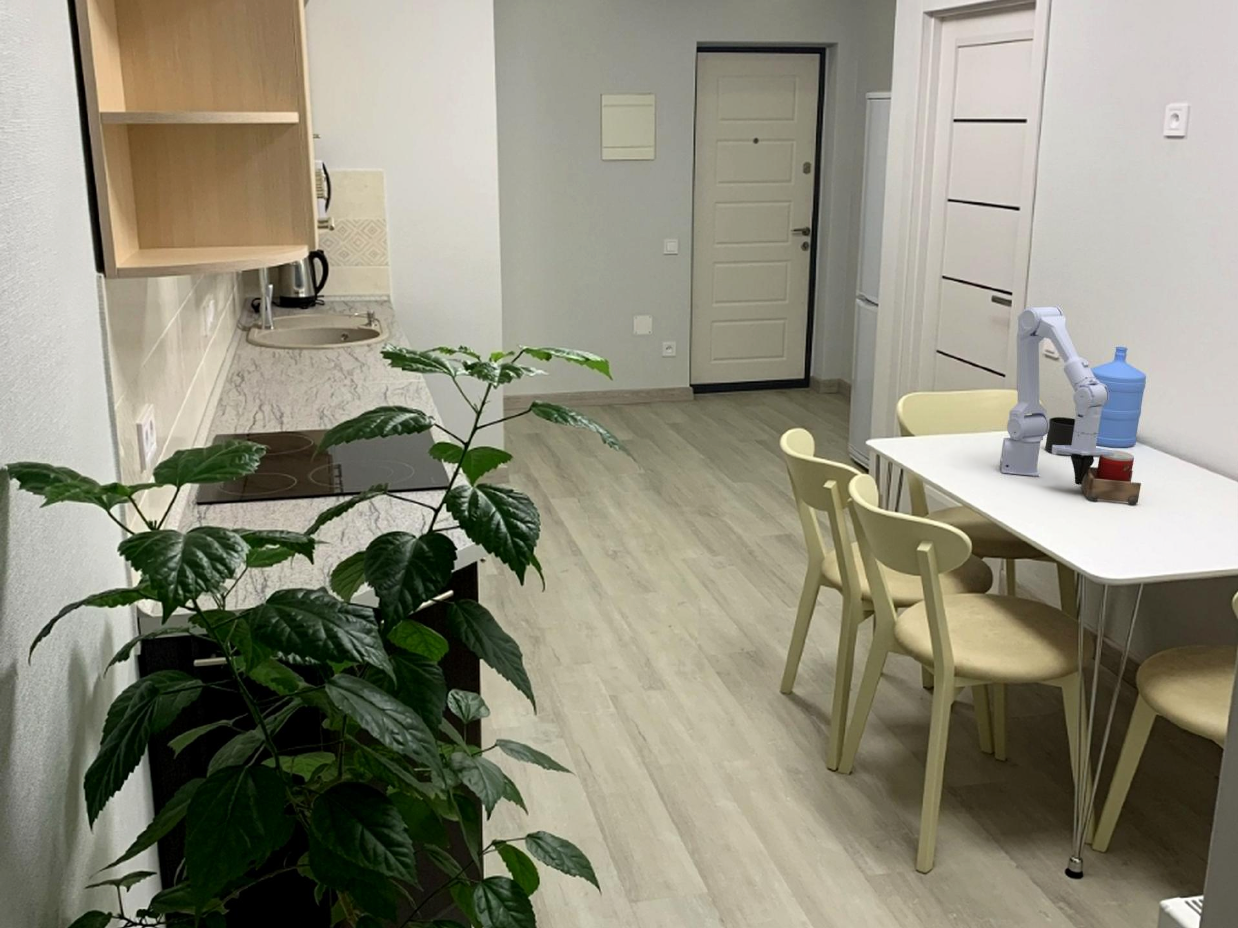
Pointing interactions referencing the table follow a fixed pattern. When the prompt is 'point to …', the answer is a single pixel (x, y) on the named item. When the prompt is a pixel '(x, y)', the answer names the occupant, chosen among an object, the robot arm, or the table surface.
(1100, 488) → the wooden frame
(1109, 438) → the water jug
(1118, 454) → the canned food
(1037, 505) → the table surface
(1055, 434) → the mug
